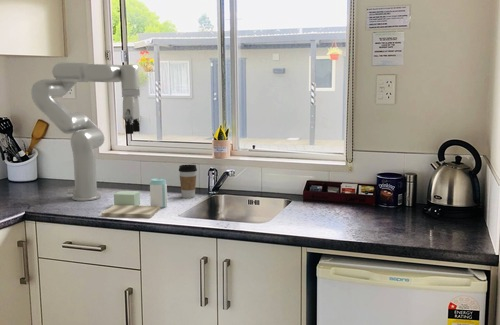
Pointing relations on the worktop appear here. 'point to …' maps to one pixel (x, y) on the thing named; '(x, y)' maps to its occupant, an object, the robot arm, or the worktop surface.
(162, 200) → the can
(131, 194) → the sage brick
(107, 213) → the birch board
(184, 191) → the coffee cup
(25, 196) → the worktop surface
